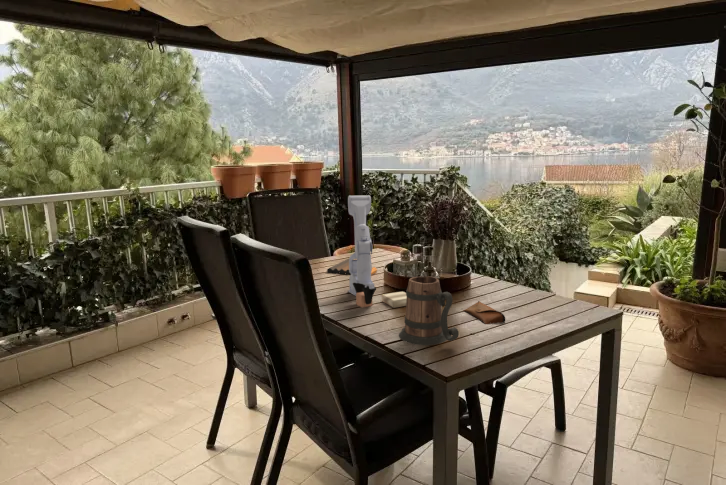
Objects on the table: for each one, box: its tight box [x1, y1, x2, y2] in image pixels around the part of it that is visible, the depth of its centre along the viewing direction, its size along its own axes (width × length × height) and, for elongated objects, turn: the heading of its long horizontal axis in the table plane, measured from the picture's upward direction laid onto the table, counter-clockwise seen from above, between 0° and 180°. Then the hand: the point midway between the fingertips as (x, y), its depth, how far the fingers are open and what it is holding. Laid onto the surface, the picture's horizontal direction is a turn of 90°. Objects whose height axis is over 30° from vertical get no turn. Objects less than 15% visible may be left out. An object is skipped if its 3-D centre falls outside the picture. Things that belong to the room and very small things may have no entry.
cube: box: [355, 292, 373, 308], centre depth 202 cm, size 5×5×5 cm
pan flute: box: [326, 258, 378, 276], centre depth 265 cm, size 25×3×25 cm
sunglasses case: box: [462, 300, 506, 325], centre depth 187 cm, size 18×7×7 cm
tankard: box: [398, 276, 460, 346], centre depth 163 cm, size 24×17×20 cm
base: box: [381, 290, 407, 309], centre depth 205 cm, size 10×10×3 cm
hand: (364, 301), depth 202 cm, fingers open, 7 cm apart
